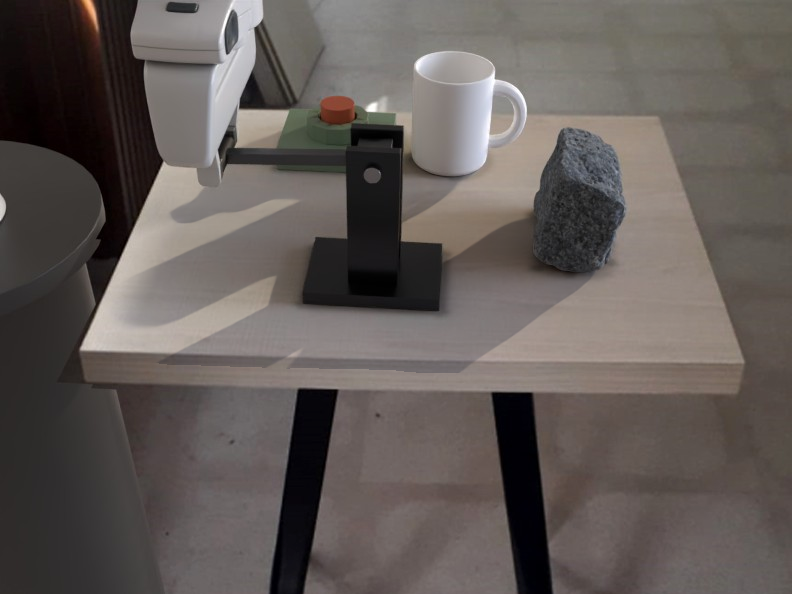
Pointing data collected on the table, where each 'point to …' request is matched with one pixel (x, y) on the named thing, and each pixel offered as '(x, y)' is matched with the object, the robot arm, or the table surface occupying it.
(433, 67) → the mug
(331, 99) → the stop button
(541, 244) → the stone
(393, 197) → the lever bracket
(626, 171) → the table surface
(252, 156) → the press lever
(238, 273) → the table surface
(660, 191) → the table surface
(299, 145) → the button block
